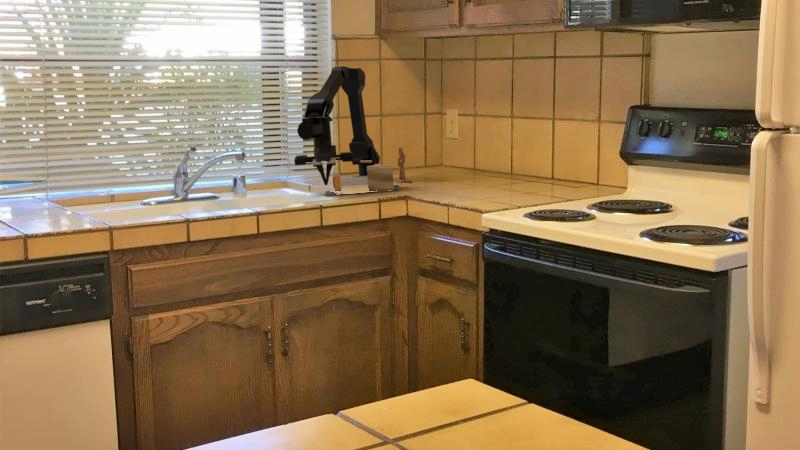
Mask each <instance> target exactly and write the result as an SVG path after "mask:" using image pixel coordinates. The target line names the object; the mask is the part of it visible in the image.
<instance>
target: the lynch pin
mask: <svg viewBox="0 0 800 450" xmlns="http://www.w3.org/2000/svg"><path fill="white" fill-rule="evenodd" d="M332 184H333V185H332V186H333V189H335V191H341V189H342V188H341V187H351V186H352V187H354V186H367V185H368V175H365V176H359V175H356V176H355V175H353V176H341V174H340V172H339V173H334V174H333V176H332Z"/></svg>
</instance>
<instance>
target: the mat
mask: <svg viewBox="0 0 800 450" xmlns="http://www.w3.org/2000/svg"><path fill="white" fill-rule="evenodd" d="M390 190H400V191H401V188H400V184H394V189H390ZM377 191H388V190H377ZM336 194H337V193H334V192H330V191H326V190H325V193H324V196H325V197H335V195H336Z"/></svg>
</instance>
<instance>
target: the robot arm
mask: <svg viewBox="0 0 800 450" xmlns="http://www.w3.org/2000/svg"><path fill="white" fill-rule="evenodd" d="M365 86H366V73H365V71H364V70H362V68H360V67H355V68H354V67H348V66H345V65H344V66H334V67H332V68H331V72H330V74H329V76H328V77H327V79H326V80H325V82H324V84H323V85H322V87H321V89H320V90H319V91H318V92H316V93H314V94H313V95H311V97H310V98H309V99H308V101H307V103H306V107H305V110H304V114H303V118H301V121H302V122H300V123H299V124H298V126H297V135H298V137H299V138H300V139H302V140H304V141H308V140H312V139H313V154H314V155H313V156H312V155H311V156H308V154H298V155H296V156H295V157H294V166H305V165H306V164H307V163H312V167H314V168H315V167H316V169H317V171H318V173H319V174H320V176H321V180H322V181H323V184H324V186H328V185H329V180H330V175H331V171H332V169H333V166H336V165H337V161H342V162H343V163H346V162H347V163H349V162H351V163H352V165H354V166H355V165H357V168H358V176H365V175H367V166H375V165H380V162H381V156H380V155H379V153H378V151H377V150H376V148H375V145H374V141H373V140H372V139H371V137H370V136H369V135H368V129H367V122H366V118H365V117H366V115H365V114H366V113H365V108H364V99H363V94H362V93H363V91H364V89H365ZM340 88H341V89H342V91H343V92H344V93H345V95H346V96H347V100H348V101H347V102H348V109H349V114H350V115H349V117H350V123H351V130H352V136H353V137H352V139H351V142H349V143H348V147H349V151H341V152H340V154H337V145H336V144H333V143H332V133H331V132H332V131H331V122H333V118H332V117H331V116H330V114H331V113H332V111H333V109H334V106H335V104H334V98H335V97H336V95H337V93H338V92H339V90H340ZM323 162H326V165H325V166H326V167H325V168H326V170H325V169H324V164H323ZM325 171H326V172H325Z"/></svg>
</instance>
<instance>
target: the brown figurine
mask: <svg viewBox="0 0 800 450" xmlns="http://www.w3.org/2000/svg"><path fill="white" fill-rule="evenodd" d="M398 155H399V157H398V158H397V167H398V168H399V174H398V175H399V176H398V178H393V182H394V181H396V182H398V183H397V184H399V183H401V184H400V185H403V184H402V183H410V184H412V180H411V179H408V178H407V177H406V172H405V166H404V165H405V162H406V156H405V155H406V153H404V150H403V148H402V147H399V148H398ZM396 182H395V183H396Z"/></svg>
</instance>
